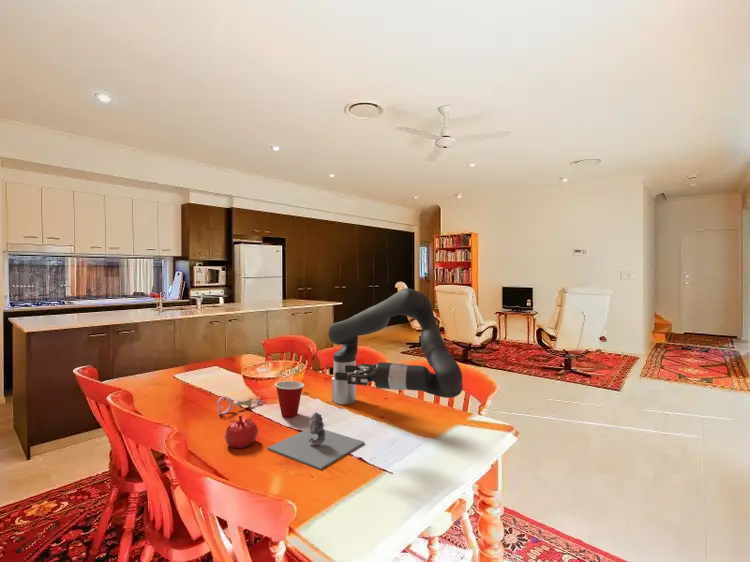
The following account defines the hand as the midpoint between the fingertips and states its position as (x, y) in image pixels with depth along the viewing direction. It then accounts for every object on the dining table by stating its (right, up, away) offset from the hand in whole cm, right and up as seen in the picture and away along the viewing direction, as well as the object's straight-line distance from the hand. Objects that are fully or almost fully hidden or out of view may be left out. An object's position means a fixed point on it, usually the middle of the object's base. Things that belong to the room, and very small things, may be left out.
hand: (340, 372), depth 120 cm
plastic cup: (-22, -23, +30) cm, 44 cm away
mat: (-8, -24, +3) cm, 25 cm away
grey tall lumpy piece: (-8, -23, +3) cm, 25 cm away
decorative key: (-42, -23, +37) cm, 60 cm away
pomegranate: (-32, -24, +5) cm, 40 cm away
